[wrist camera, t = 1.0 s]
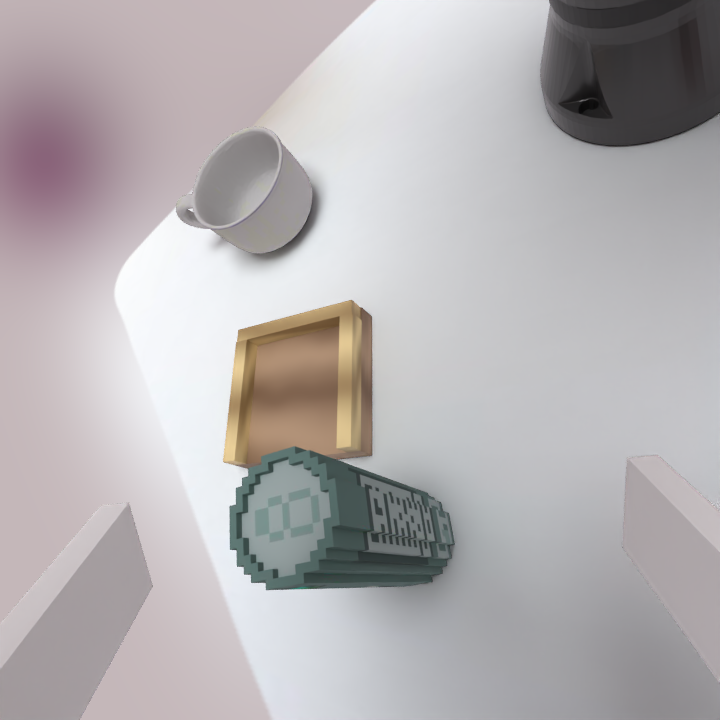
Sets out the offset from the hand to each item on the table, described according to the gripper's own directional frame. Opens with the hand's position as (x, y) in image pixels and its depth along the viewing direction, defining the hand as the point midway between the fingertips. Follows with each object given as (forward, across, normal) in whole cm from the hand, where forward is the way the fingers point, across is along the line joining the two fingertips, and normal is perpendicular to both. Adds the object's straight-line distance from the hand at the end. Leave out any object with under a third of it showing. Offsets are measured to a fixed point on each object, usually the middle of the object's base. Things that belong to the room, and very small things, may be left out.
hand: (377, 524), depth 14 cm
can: (+19, +1, -15) cm, 24 cm away
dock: (+30, -6, -8) cm, 31 cm away
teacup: (+45, -10, +6) cm, 46 cm away
